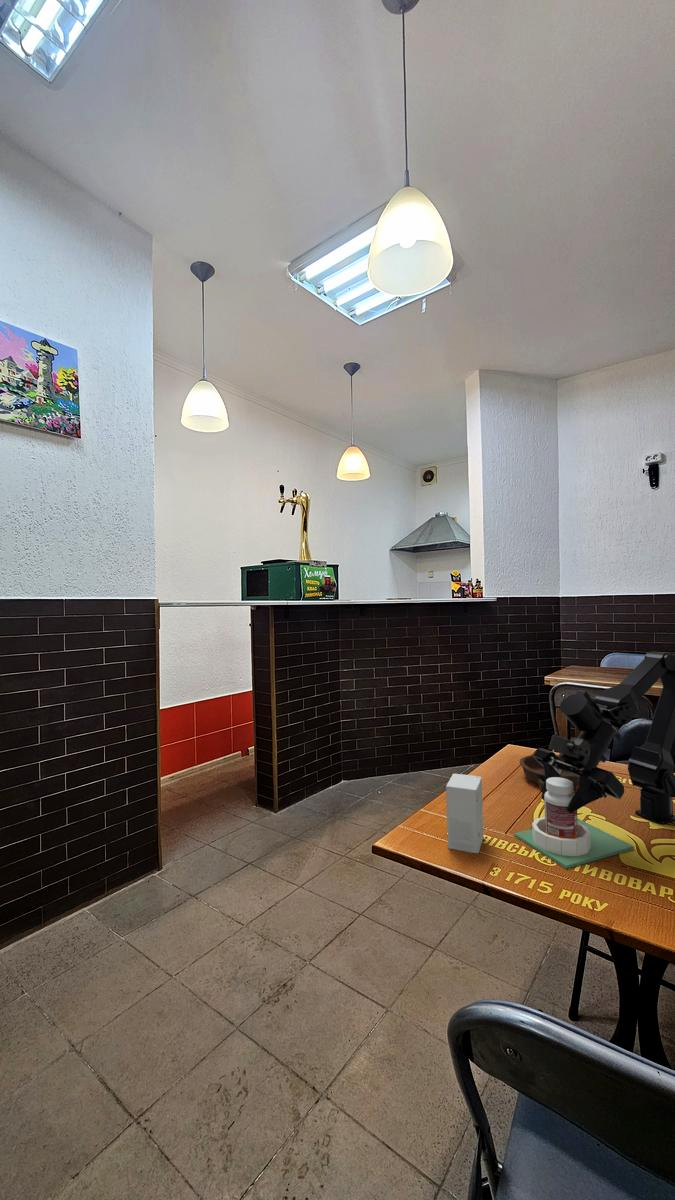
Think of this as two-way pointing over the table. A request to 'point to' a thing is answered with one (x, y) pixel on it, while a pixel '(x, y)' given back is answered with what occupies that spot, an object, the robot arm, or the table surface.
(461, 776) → the small box
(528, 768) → the dish
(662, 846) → the table surface
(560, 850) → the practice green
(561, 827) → the pill bottle
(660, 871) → the table surface
